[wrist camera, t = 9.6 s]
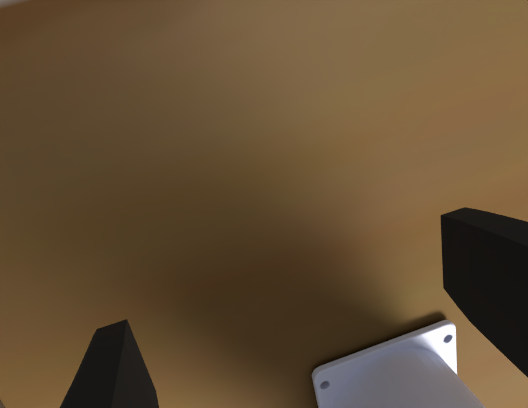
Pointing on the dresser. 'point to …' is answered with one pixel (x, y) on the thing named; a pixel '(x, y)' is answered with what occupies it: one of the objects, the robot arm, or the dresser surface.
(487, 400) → the dresser surface
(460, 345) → the dresser surface
